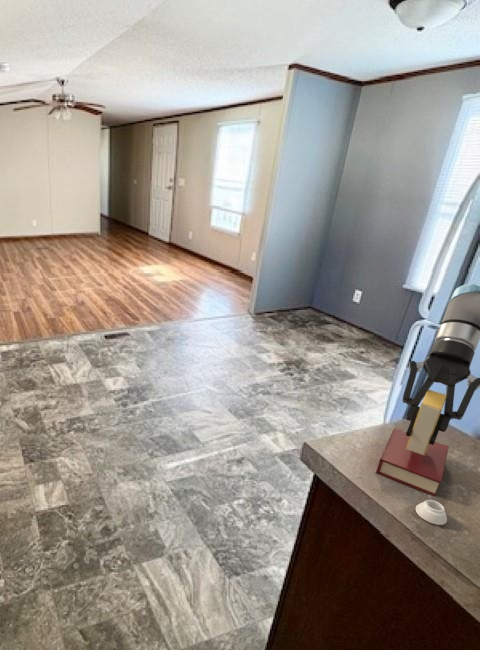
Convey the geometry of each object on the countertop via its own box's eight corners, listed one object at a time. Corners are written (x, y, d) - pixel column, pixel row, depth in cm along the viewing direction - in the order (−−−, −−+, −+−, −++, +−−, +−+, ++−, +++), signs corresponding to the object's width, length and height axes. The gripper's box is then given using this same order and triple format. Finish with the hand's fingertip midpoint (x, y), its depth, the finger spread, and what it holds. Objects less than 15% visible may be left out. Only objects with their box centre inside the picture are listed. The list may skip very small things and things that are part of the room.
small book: (430, 439, 98) (447, 394, 93) (424, 456, 92) (441, 409, 87) (412, 433, 100) (427, 389, 95) (405, 449, 94) (421, 403, 90)
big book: (389, 440, 107) (393, 427, 106) (443, 460, 100) (449, 446, 99) (375, 472, 96) (380, 458, 95) (435, 496, 90) (441, 481, 88)
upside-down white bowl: (435, 529, 82) (451, 521, 83) (440, 518, 80) (456, 510, 82) (409, 511, 86) (424, 504, 88) (413, 500, 85) (429, 493, 86)
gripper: (498, 364, 94) (465, 459, 90) (409, 343, 105) (376, 428, 100) (506, 350, 89) (472, 451, 84) (411, 329, 99) (376, 418, 94)
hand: (420, 438), depth 92 cm, fingers closed on small book, 3 cm apart
